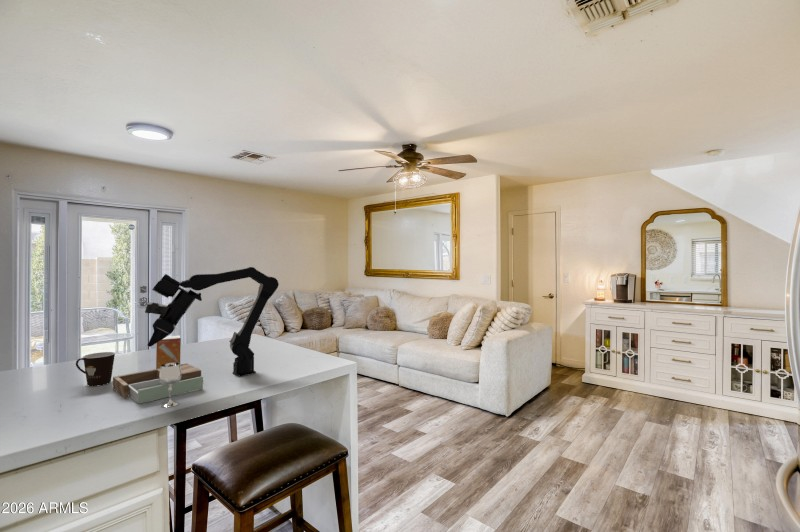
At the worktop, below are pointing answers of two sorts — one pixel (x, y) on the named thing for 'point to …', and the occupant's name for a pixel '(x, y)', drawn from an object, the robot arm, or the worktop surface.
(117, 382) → the divided wooden organizer
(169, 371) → the wineglass
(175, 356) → the small box
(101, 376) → the coffee mug
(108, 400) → the worktop surface
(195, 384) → the tray
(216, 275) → the robot arm
